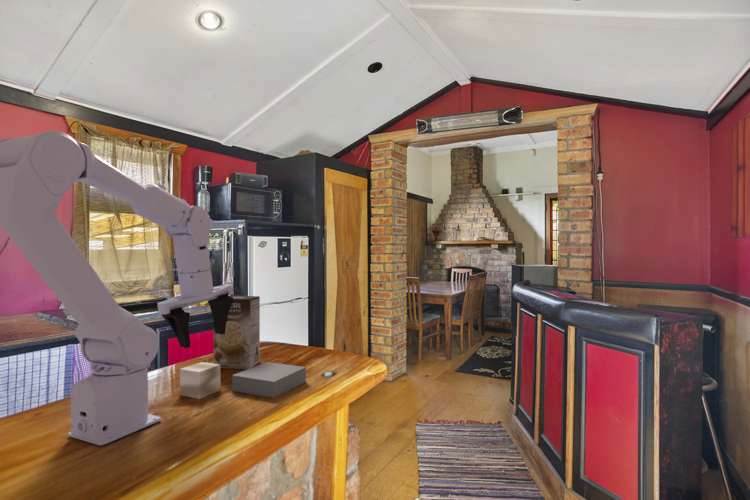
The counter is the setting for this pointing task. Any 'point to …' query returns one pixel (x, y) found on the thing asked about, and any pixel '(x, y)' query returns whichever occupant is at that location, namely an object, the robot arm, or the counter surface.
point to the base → (269, 379)
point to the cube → (200, 380)
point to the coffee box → (240, 335)
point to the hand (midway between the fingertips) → (203, 339)
